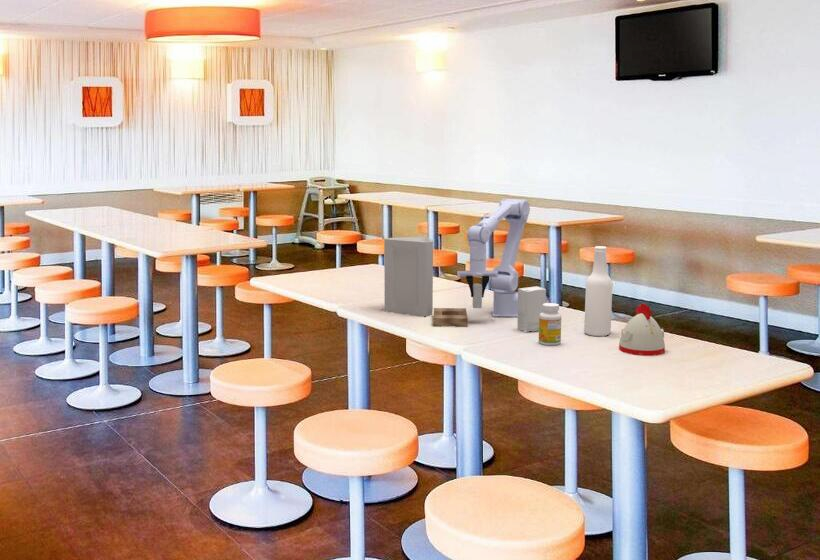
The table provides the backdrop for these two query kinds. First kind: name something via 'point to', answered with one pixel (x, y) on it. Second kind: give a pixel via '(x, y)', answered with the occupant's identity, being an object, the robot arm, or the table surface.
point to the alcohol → (598, 297)
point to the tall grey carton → (409, 275)
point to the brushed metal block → (477, 295)
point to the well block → (450, 317)
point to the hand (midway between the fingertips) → (477, 296)
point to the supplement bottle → (550, 324)
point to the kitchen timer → (642, 334)
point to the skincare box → (530, 307)
